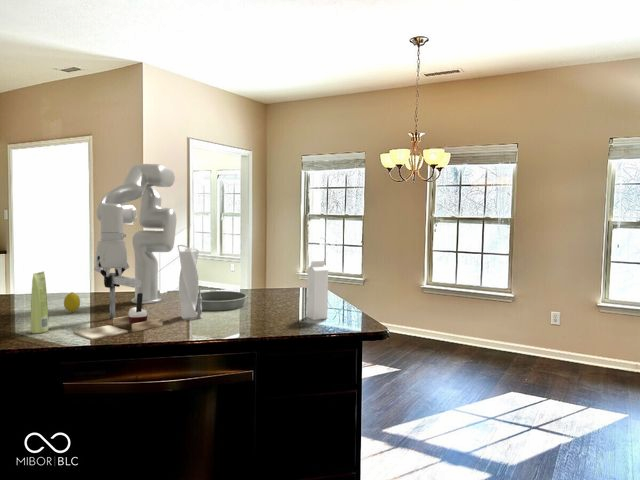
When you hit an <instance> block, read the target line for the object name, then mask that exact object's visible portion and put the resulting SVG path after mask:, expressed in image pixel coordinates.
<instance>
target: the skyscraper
mask: <svg viewBox="0 0 640 480" xmlns="http://www.w3.org/2000/svg"><path fill="white" fill-rule="evenodd" d="M180 247H184V248H185V249H184V250H180ZM177 249H178V250H177V251H178V254H179V262H180V271H179V272H180V273H179V277H178V280H179V281H178V295H179V296H178V297H179V304H180V311H181V312H180V316H179V317H180V319H182V320H183V321H189V320H198V319H200V320H201V319H203V312H202V310H203V309H202V304H201V299H202V297H201V292H202V290H201V285H199V274H198V269H197V263H198V257H199V253H200V252H199V249H197V248H190V247H189V246H187V245H185V244H178V245H177ZM198 293H199V297H198ZM197 299H198V308H196V305H197ZM196 310H197V313H196Z"/></svg>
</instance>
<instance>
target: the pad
mask: <svg viewBox="0 0 640 480" xmlns="http://www.w3.org/2000/svg"><path fill="white" fill-rule="evenodd" d="M72 333H73V334H74V335H77V336H80V337H83V338H86V339H89V340H91V341H92V340H97V339H102V338H107V337H112V336H117V335H123V334H128V333H129V330H127V329H123V328H119V327H117V326H113V325H111V324H109V325H103V326H96V327H92V328H88V329H87V328H86V329H80V330H75V331H73V332H72Z"/></svg>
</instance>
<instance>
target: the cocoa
mask: <svg viewBox="0 0 640 480" xmlns="http://www.w3.org/2000/svg"><path fill="white" fill-rule="evenodd" d="M142 297H143V294H142V293H138V294H137V303H136V306H135V307H131V308H130V309H129V310H128V315H127V316H128V318H129V323H128V324H129V325H130V326H132V324H133V323H139V322H144V321H148V311H147V310H146V309H144V308H142V307H143V304H142Z"/></svg>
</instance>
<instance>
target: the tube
mask: <svg viewBox="0 0 640 480" xmlns="http://www.w3.org/2000/svg"><path fill="white" fill-rule="evenodd" d="M32 275H33V276H32V279H31V280H32V281H31V283H32V284H31V293H30V294H31V298H30V299H31V300H30V301H31V302H30V307H31V308H30V333H32V334H43V333H45V332H48V331H49V311H48V310H49V309H48V308H49V307H48V294H47V292H48V291H47V284H46V283H47V282H46V275H45V271H39V272H35V273H33V274H32Z"/></svg>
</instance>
